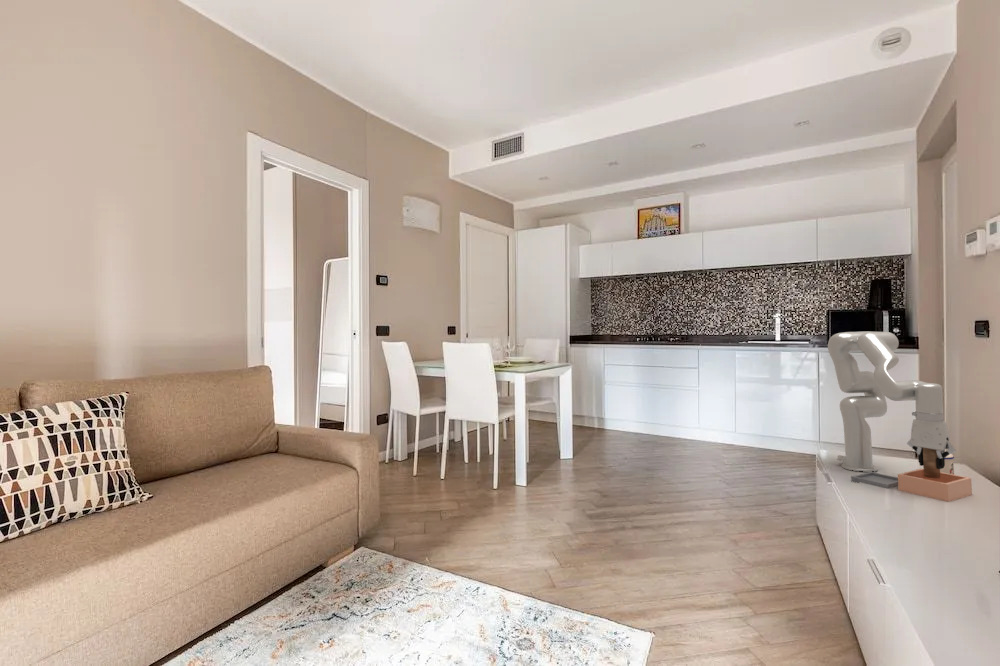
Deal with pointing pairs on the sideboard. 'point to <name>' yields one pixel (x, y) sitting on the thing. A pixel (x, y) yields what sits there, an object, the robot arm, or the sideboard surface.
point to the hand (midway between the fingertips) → (931, 466)
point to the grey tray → (876, 479)
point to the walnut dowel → (930, 463)
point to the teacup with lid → (948, 465)
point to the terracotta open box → (935, 485)
